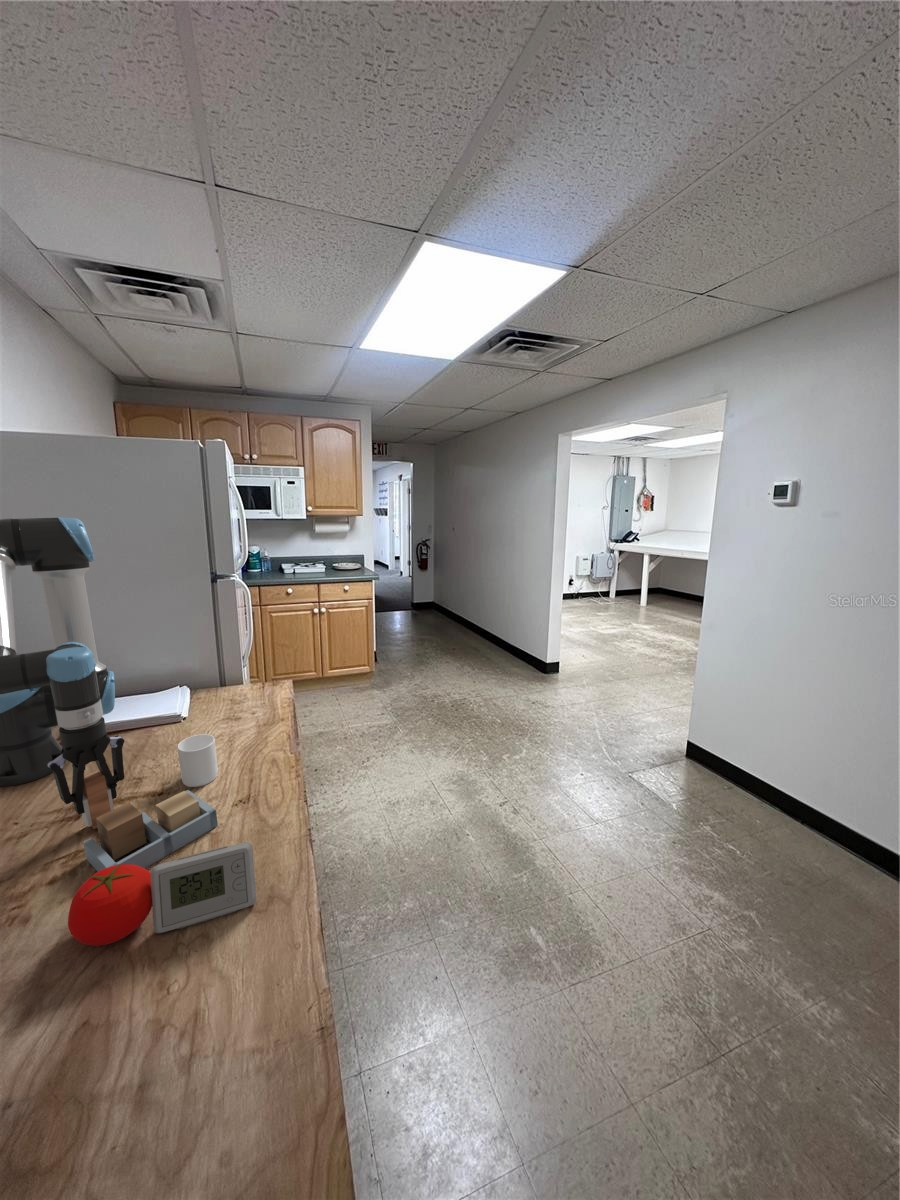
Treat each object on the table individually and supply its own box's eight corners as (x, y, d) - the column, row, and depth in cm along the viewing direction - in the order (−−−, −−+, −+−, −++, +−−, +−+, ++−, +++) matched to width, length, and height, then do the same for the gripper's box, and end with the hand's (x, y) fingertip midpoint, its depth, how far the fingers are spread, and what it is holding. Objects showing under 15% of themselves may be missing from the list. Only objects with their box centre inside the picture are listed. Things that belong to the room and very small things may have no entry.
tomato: (84, 912, 83) (74, 862, 80) (164, 890, 87) (157, 842, 85) (62, 971, 73) (50, 916, 70) (154, 943, 77) (145, 890, 75)
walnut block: (80, 825, 102) (71, 781, 99) (112, 810, 107) (104, 767, 104) (113, 860, 93) (105, 813, 90) (146, 842, 98) (139, 796, 95)
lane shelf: (86, 858, 94) (83, 842, 93) (189, 804, 111) (187, 789, 110) (111, 887, 88) (108, 869, 87) (217, 825, 104) (216, 809, 103)
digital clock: (148, 939, 78) (140, 886, 75) (168, 894, 87) (161, 845, 84) (252, 923, 81) (247, 871, 79) (261, 881, 90) (257, 833, 87)
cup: (182, 791, 115) (177, 754, 113) (181, 766, 125) (177, 732, 123) (219, 781, 119) (215, 746, 117) (216, 758, 129) (212, 725, 127)
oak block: (159, 833, 102) (155, 804, 100) (187, 817, 106) (184, 790, 105) (173, 845, 98) (169, 816, 97) (201, 828, 103) (198, 800, 102)
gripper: (37, 744, 89) (59, 848, 95) (134, 711, 102) (148, 804, 108) (24, 732, 93) (45, 832, 99) (118, 702, 106) (133, 792, 112)
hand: (99, 817), depth 103 cm, fingers closed on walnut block, 3 cm apart
